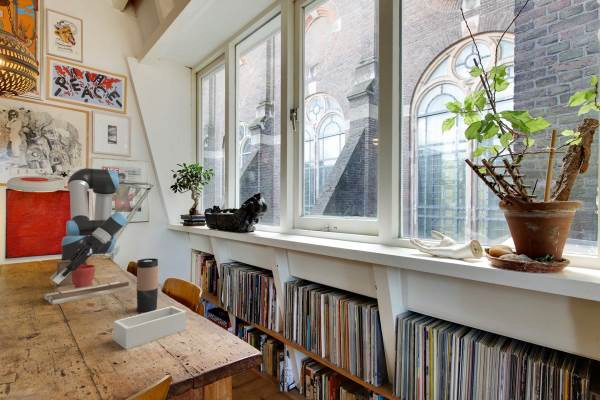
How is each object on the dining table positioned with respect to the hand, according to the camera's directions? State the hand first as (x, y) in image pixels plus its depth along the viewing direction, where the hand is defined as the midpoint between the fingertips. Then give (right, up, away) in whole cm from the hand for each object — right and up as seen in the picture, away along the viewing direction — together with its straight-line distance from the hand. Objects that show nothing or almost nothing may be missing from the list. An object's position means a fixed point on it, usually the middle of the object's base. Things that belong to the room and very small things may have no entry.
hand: (53, 281), depth 135 cm
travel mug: (+44, -10, -8) cm, 46 cm away
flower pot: (-6, -9, +26) cm, 29 cm away
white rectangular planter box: (+57, -9, -32) cm, 66 cm away
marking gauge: (+2, -4, +3) cm, 6 cm away
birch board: (+7, -9, +12) cm, 17 cm away
